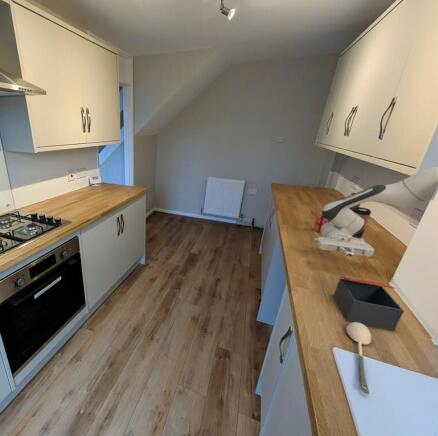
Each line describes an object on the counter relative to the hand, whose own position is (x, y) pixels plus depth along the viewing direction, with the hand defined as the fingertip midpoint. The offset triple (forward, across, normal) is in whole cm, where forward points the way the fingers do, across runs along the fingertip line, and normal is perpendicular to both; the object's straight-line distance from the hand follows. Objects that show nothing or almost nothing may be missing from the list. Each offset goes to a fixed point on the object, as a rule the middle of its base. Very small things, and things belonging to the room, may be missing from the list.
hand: (349, 254), depth 100 cm
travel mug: (-54, +22, +14) cm, 59 cm away
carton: (+20, 0, +13) cm, 24 cm away
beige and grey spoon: (+44, -8, +10) cm, 45 cm away
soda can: (-62, +7, +14) cm, 64 cm away
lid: (+17, 0, +3) cm, 17 cm away
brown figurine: (-105, +37, +14) cm, 112 cm away
